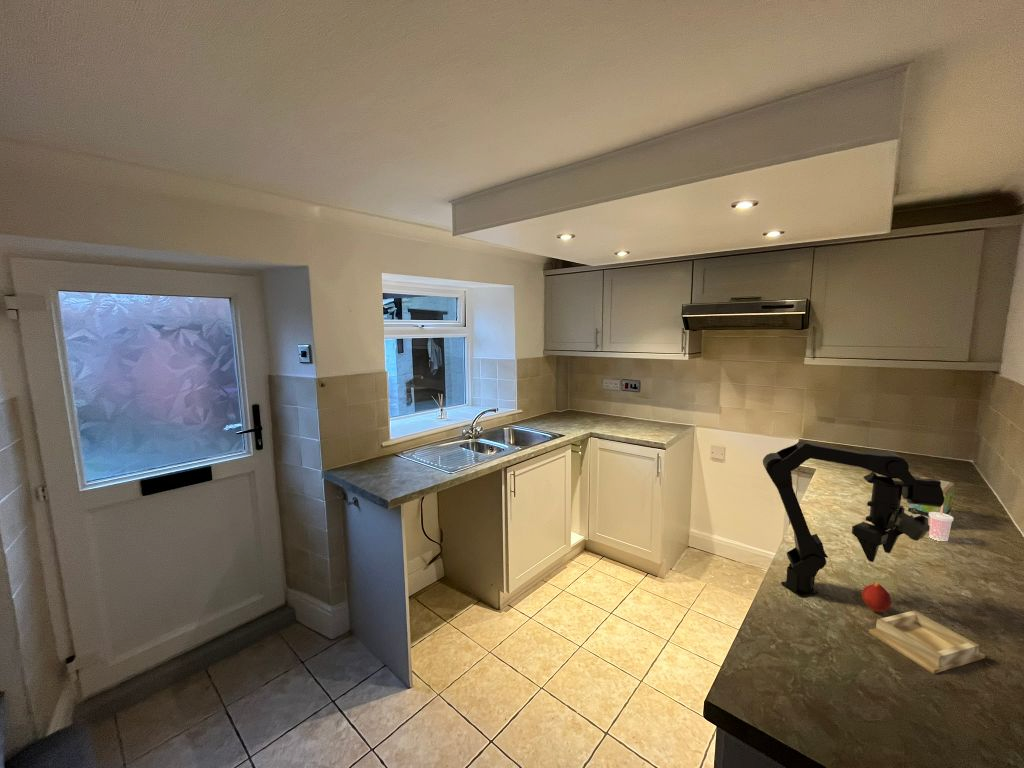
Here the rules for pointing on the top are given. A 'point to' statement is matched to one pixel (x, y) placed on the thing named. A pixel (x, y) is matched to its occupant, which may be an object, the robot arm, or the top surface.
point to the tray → (926, 641)
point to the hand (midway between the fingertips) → (879, 556)
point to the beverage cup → (939, 525)
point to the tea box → (924, 510)
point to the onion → (876, 597)
